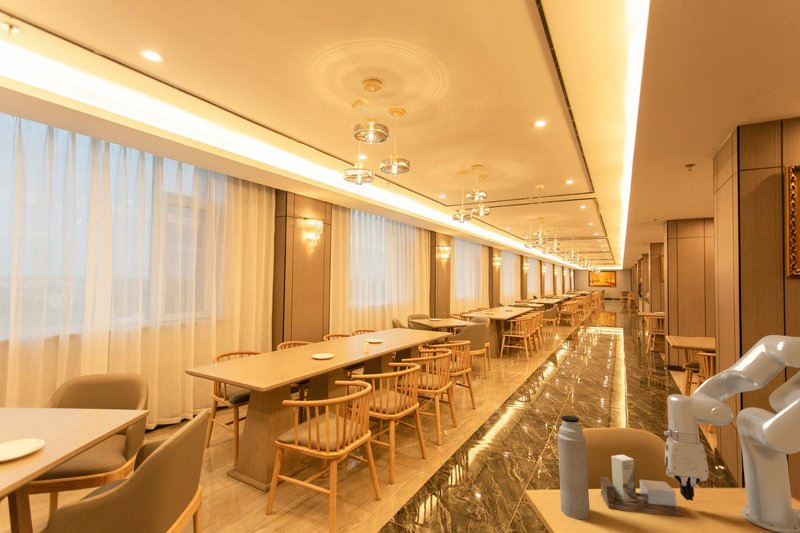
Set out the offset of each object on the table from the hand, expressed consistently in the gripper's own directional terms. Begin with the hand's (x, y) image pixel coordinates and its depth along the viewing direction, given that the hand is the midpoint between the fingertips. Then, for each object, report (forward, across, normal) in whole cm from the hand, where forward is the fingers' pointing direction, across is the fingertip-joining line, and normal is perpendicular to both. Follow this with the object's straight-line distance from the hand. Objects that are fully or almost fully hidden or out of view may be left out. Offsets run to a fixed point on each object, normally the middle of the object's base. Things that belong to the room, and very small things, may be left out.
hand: (687, 498), depth 114 cm
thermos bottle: (+5, -34, -9) cm, 35 cm away
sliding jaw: (+2, -8, 0) cm, 8 cm away
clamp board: (+4, -14, 0) cm, 14 cm away
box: (+3, -17, 0) cm, 18 cm away
